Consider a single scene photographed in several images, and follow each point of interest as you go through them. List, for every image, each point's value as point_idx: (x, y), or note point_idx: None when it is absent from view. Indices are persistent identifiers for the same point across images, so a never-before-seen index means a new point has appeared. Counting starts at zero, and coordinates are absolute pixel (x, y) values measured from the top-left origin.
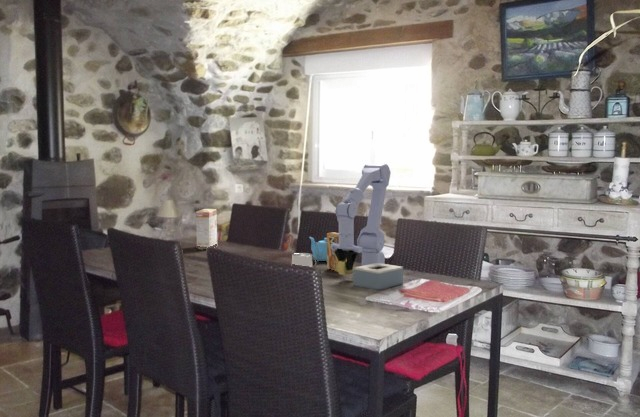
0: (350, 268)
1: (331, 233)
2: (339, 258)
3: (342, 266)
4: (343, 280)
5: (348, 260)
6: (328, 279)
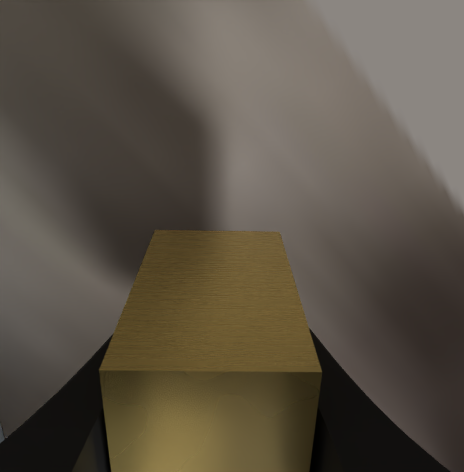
0: None
1: None
2: (355, 466)
3: (187, 297)
4: None
5: (3, 458)
6: (417, 160)
